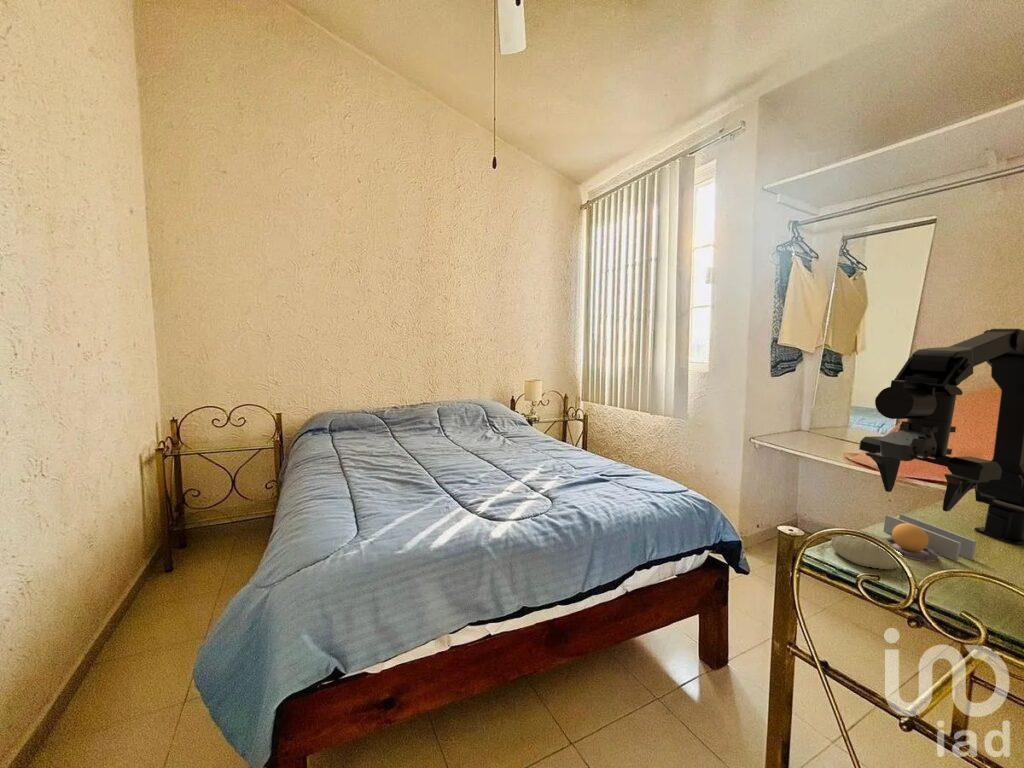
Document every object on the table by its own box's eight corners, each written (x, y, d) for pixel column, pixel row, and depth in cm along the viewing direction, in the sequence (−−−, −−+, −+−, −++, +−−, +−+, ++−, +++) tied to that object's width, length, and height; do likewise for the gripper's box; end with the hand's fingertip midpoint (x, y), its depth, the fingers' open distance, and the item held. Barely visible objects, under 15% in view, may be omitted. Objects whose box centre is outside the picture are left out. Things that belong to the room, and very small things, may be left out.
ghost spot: (900, 539, 84) (900, 536, 84) (947, 559, 76) (947, 555, 76) (871, 542, 82) (871, 538, 82) (916, 563, 75) (917, 559, 74)
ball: (902, 542, 82) (906, 518, 82) (933, 555, 77) (937, 529, 77) (883, 544, 81) (887, 519, 80) (913, 557, 76) (917, 531, 76)
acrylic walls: (899, 529, 89) (902, 513, 88) (973, 559, 77) (976, 541, 77) (883, 531, 88) (885, 515, 87) (955, 561, 76) (958, 543, 76)
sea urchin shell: (846, 532, 82) (885, 516, 76) (875, 574, 77) (919, 561, 71) (815, 538, 78) (853, 522, 73) (843, 582, 74) (886, 569, 68)
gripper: (843, 409, 83) (832, 484, 85) (963, 430, 65) (946, 525, 67) (885, 409, 86) (874, 482, 88) (1011, 430, 68) (994, 521, 70)
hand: (915, 500), depth 78 cm, fingers open, 9 cm apart
